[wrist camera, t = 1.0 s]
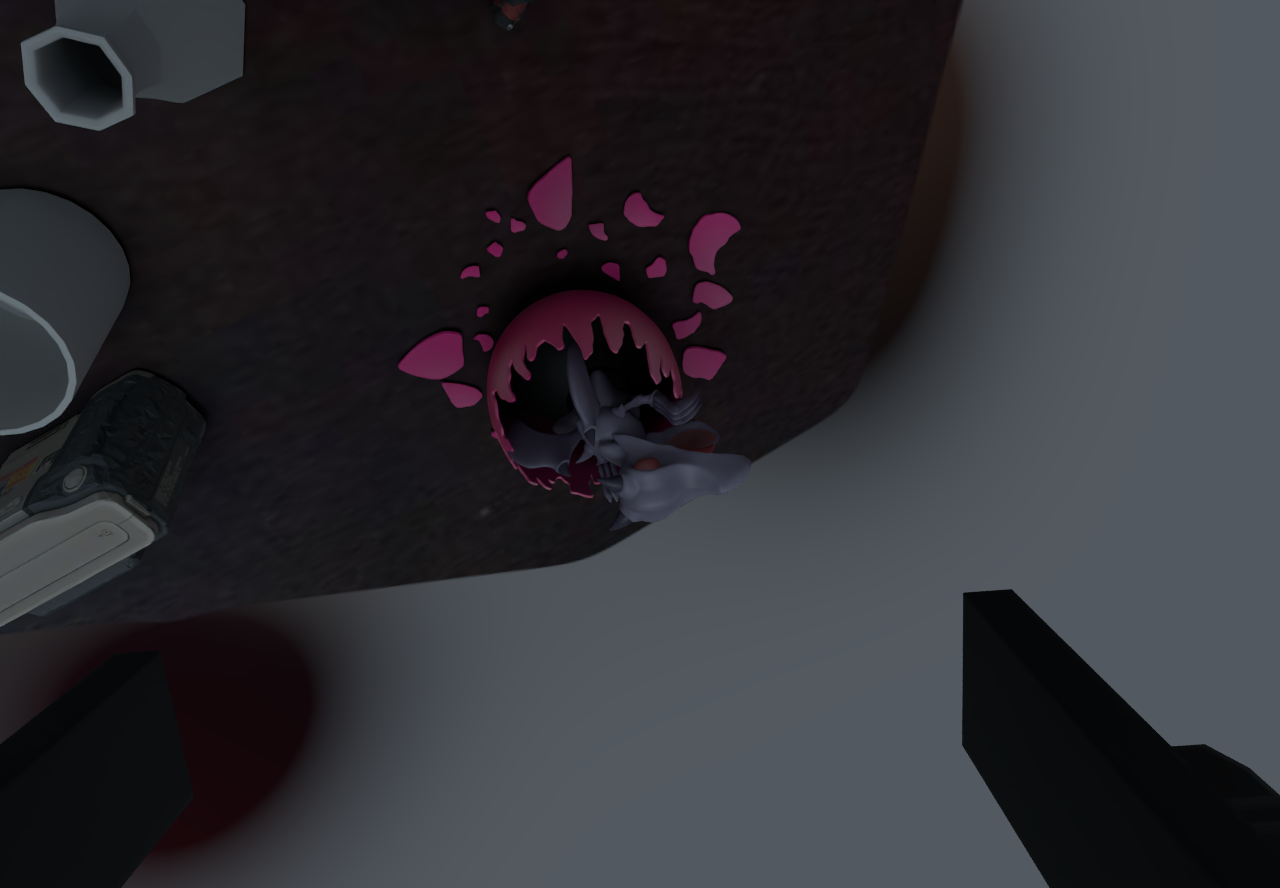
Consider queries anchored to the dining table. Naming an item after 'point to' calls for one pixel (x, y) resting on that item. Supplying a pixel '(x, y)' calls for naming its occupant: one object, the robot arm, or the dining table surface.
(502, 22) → the figurine
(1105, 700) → the robot arm
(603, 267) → the hatching egg
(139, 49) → the flask
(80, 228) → the cup
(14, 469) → the camera
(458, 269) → the dining table surface
